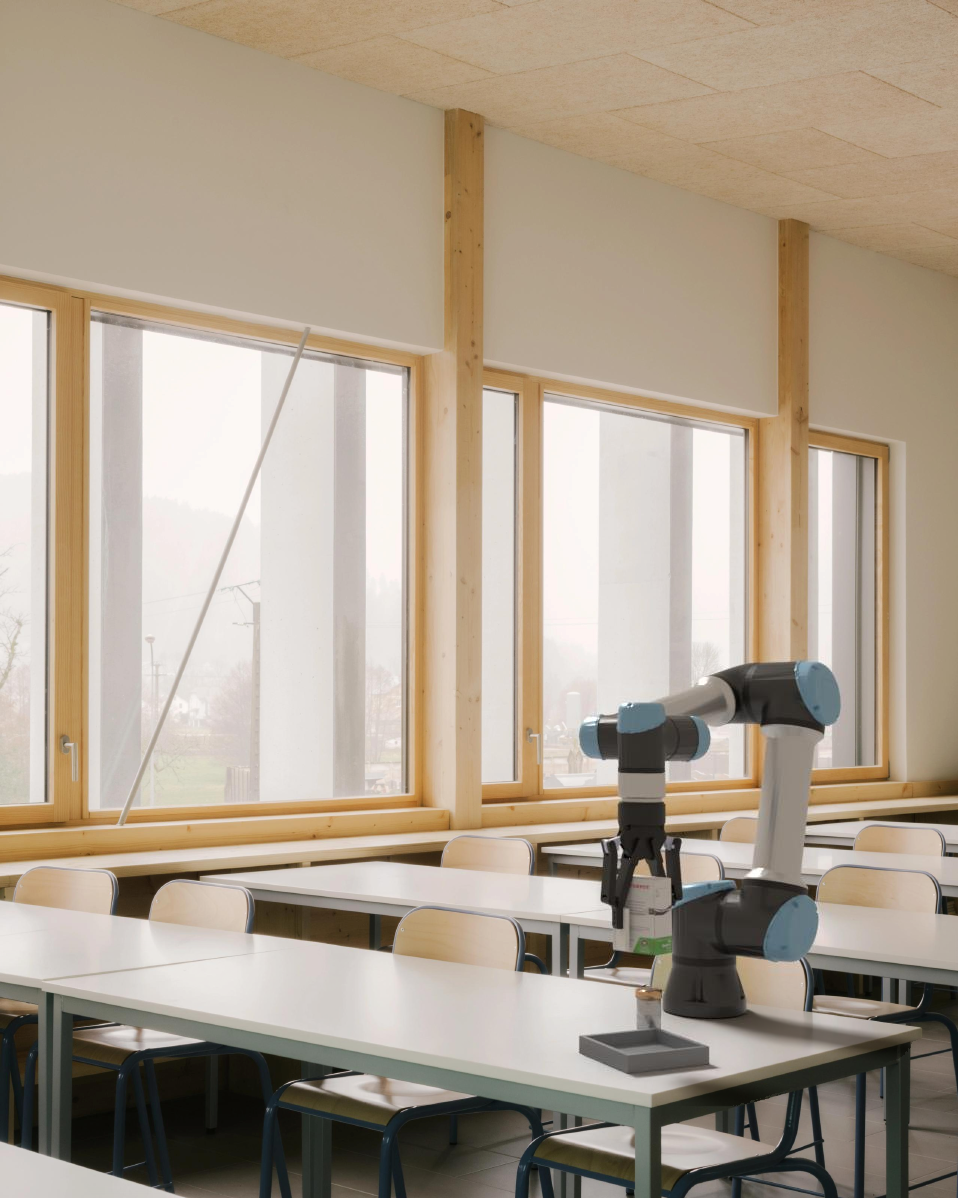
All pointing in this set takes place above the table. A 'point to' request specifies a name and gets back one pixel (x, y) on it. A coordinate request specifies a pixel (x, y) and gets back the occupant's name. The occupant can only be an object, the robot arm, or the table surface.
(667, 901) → the ink box
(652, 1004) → the fuse
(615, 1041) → the parts tray
